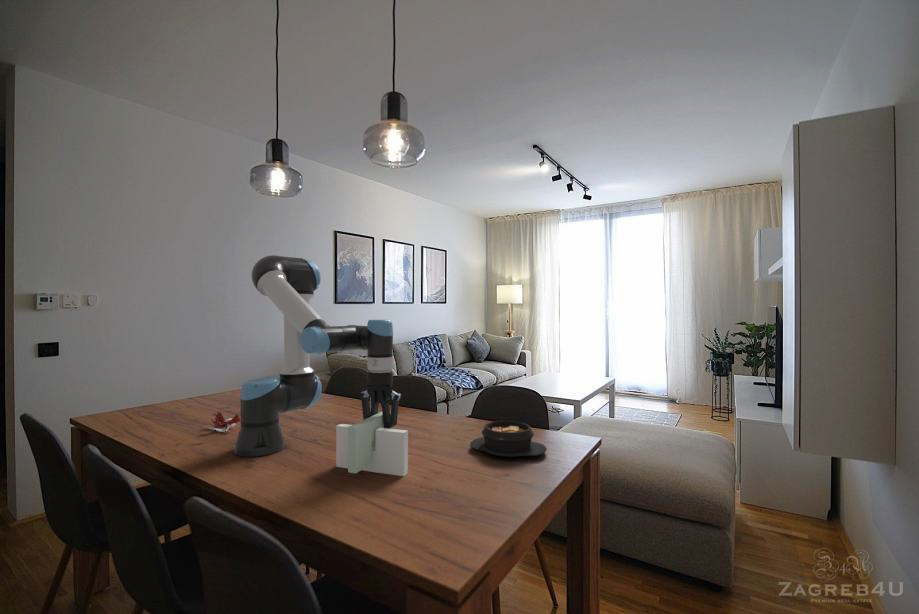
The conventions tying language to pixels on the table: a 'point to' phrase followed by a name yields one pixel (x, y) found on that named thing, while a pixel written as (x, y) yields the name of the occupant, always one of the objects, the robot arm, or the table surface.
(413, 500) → the table surface
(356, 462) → the green board
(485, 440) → the casserole
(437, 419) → the table surface
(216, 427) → the figurine
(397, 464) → the white board
